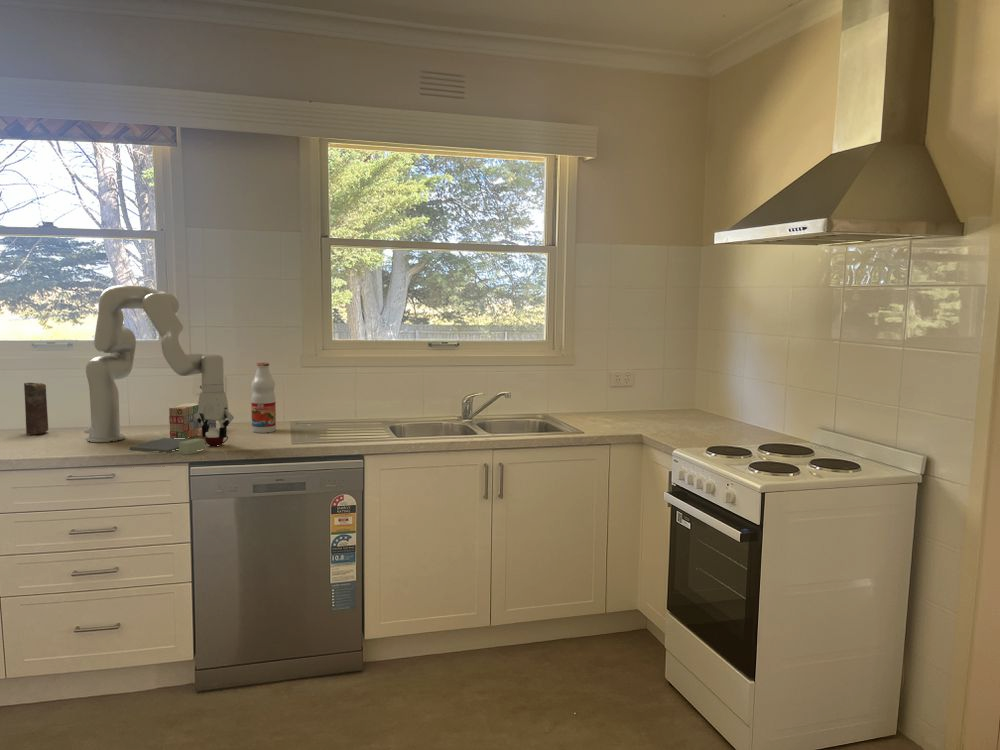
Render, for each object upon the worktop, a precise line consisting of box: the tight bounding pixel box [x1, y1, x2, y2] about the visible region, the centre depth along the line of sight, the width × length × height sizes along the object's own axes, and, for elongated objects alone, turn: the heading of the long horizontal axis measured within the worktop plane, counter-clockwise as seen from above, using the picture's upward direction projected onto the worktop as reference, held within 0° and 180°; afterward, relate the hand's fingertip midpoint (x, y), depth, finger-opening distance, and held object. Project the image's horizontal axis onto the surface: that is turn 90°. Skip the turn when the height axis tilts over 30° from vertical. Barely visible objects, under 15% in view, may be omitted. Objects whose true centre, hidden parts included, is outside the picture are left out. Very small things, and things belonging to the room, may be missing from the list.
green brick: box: [178, 437, 206, 455], centre depth 259 cm, size 4×8×4 cm, turn 159°
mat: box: [128, 437, 188, 454], centre depth 266 cm, size 16×18×1 cm
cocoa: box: [200, 414, 229, 447], centre depth 268 cm, size 10×6×12 cm, turn 97°
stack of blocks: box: [168, 402, 217, 439], centre depth 290 cm, size 21×6×12 cm, turn 169°
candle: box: [23, 382, 49, 436], centre depth 284 cm, size 8×7×20 cm
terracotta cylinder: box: [198, 427, 212, 441], centre depth 277 cm, size 5×5×5 cm
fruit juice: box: [250, 362, 277, 434], centre depth 297 cm, size 9×9×28 cm
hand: (214, 436), depth 269 cm, fingers closed on cocoa, 6 cm apart
